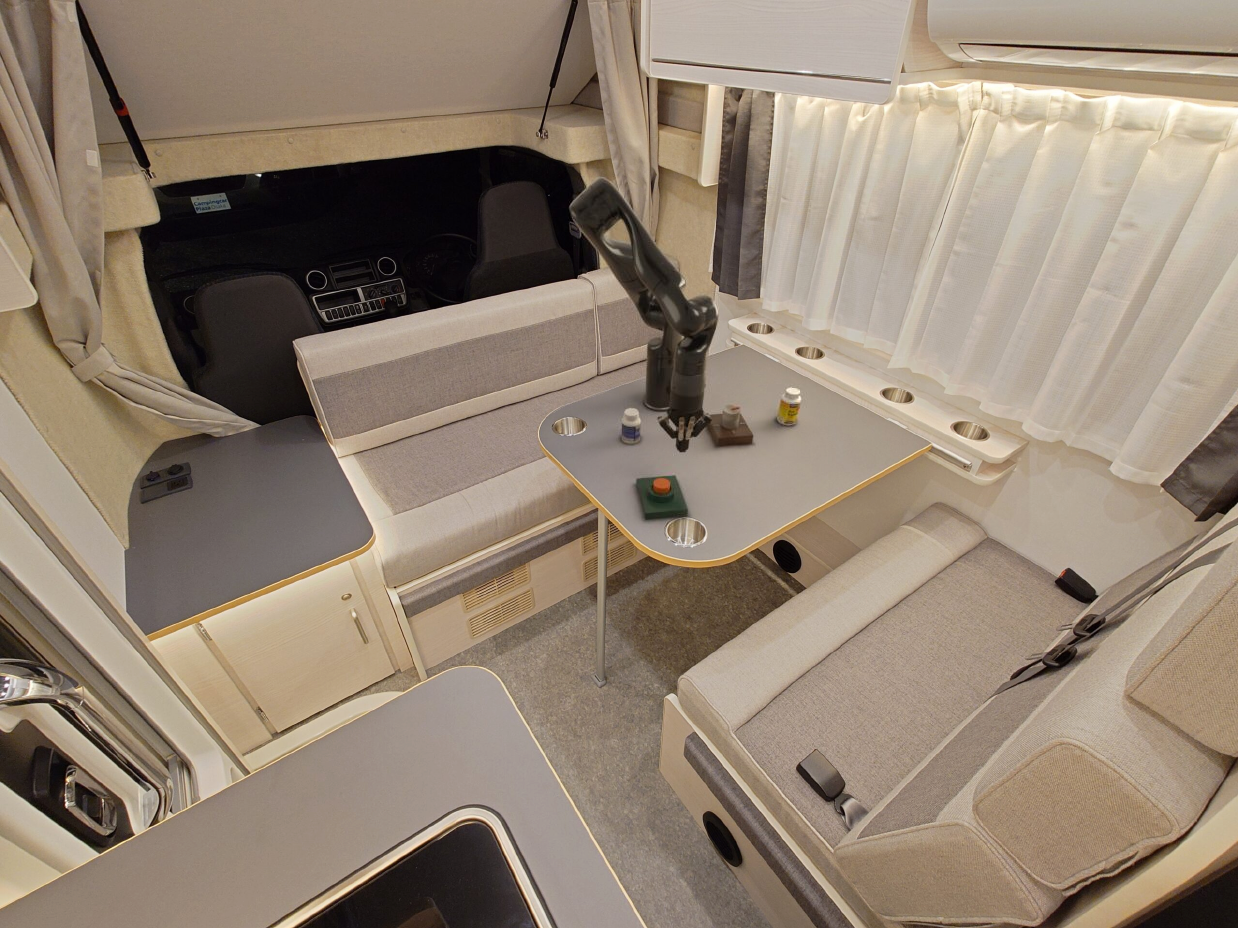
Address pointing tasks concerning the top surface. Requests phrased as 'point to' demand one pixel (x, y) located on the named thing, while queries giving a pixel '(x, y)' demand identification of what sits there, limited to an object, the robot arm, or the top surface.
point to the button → (661, 486)
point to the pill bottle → (631, 426)
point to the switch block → (661, 499)
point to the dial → (730, 416)
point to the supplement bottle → (789, 407)
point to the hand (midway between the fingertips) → (681, 450)
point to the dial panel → (729, 432)
